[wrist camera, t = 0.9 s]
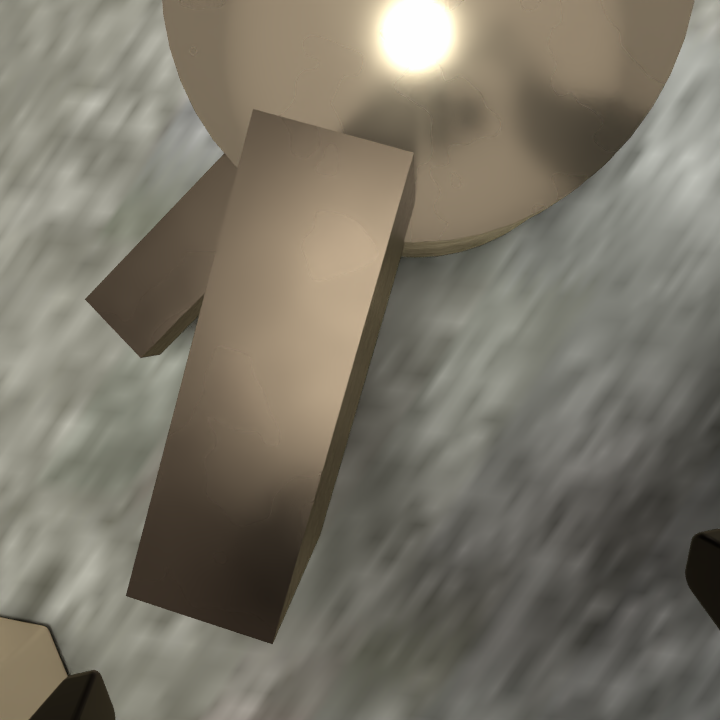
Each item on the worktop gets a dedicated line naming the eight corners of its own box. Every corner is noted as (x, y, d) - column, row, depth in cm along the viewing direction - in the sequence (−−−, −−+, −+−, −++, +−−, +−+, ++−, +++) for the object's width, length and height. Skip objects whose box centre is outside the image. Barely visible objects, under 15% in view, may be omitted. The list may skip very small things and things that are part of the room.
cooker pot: (425, -193, 22) (428, -376, 16) (682, 73, 22) (779, -14, 16) (58, 204, 25) (-56, 169, 19) (290, 446, 25) (249, 490, 19)
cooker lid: (246, -330, 17) (146, -702, 11) (755, -216, 16) (970, -550, 10) (57, 449, 19) (-118, 516, 13) (496, 587, 18) (537, 731, 12)
